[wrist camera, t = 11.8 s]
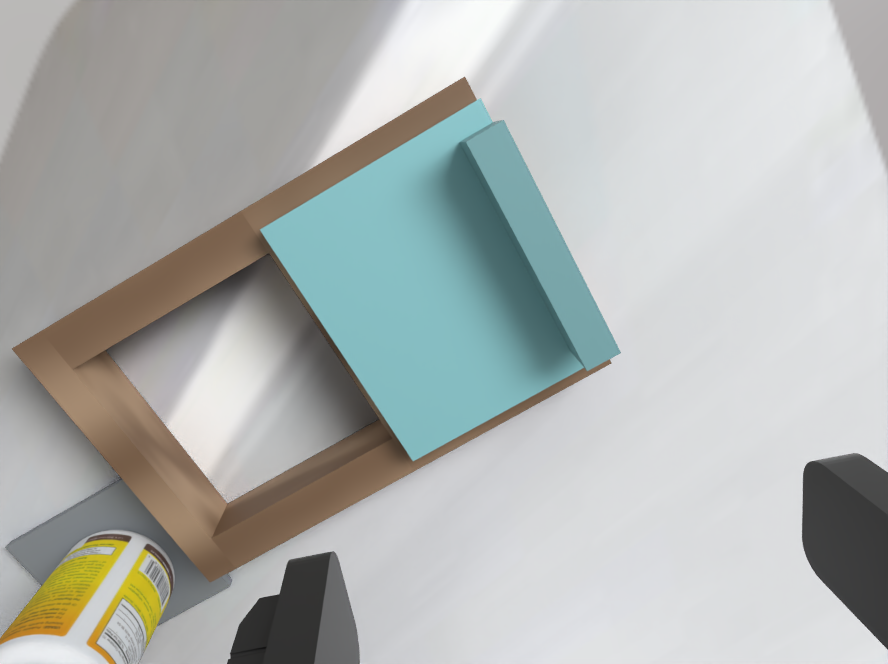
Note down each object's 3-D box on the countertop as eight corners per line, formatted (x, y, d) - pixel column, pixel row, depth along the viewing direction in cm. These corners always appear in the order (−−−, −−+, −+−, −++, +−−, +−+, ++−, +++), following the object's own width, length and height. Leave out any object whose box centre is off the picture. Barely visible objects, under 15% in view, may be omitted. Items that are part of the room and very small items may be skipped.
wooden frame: (591, 343, 31) (611, 363, 29) (226, 545, 33) (209, 582, 30) (457, 83, 27) (464, 76, 25) (49, 328, 29) (11, 348, 26)
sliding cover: (603, 346, 28) (630, 373, 25) (412, 451, 29) (414, 490, 26) (477, 99, 25) (490, 92, 21) (265, 226, 26) (245, 239, 22)
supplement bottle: (48, 582, 33) (-101, 770, 23) (101, 505, 31) (-31, 667, 22) (145, 630, 34) (43, 828, 24) (199, 558, 33) (116, 734, 23)
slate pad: (232, 580, 34) (230, 586, 33) (110, 646, 35) (106, 653, 34) (139, 468, 32) (135, 473, 31) (11, 541, 32) (5, 547, 32)
